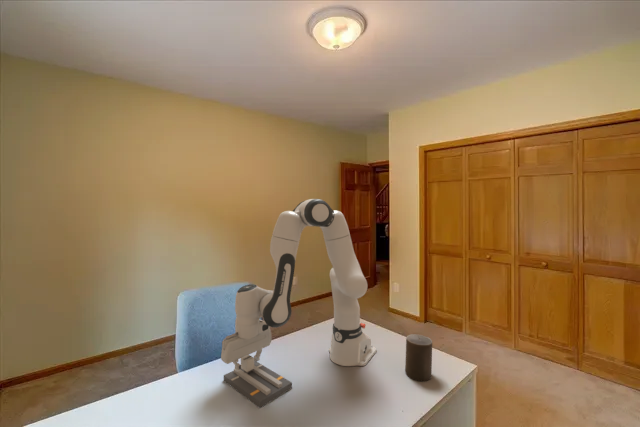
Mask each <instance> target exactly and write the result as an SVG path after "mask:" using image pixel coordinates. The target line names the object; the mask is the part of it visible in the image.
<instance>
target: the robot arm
mask: <svg viewBox="0 0 640 427" xmlns="http://www.w3.org/2000/svg"><path fill="white" fill-rule="evenodd" d="M306 227H319V229H321V231H322V235H323V240H324V243H325V248H326V252H327V257H328V260H329V261H330V263H331V266H332V267H331V269H330V270H329V279H330V284H331V285H330V286H331V295H332V301H333V324H332V334H331V338H330V339H331V340H330V347H328V352H329V359H330V360H331V362H333V363H334V364H337V365H338V366H342V367H354V366H361V367H364V366H367V364H368V363H369V361H370V360H372V357H373V356H374V355H375V354H376V352H377V348H376V347H375V346H374V345H372V341H371V338H370V336H369V335H368V334H366V333H365V332H363V329H365V328H366V324H365V323H362V322H361V321H360V320H361V308H360V304H359V300H358V299H360V298H362V297H363V296H365V294H366V293H367V290H368V281H367V279H366V277H365V275H364V273H363V271H362V268H361V265H360V262H359V260H358V259H357V256H356V253H355V250H354V245H353V241H352V237H351V234H350V230H349V225H348V222H347V220H346V218H345V215H344V213H342V211H340V210H336V209H335V210H333V209H332V207H331V206H330V204H328V202H326V200H324V199H321V198H320V199H319V198H309V199H306V200H303V201H301V202H299V203H298V204H297V205H296V206H295V207H294V209H293V210H285V211H282V212H281V213H280V214H279V215H278V217H277V220H276V222H275V225H274V227H273V231H272V236H271V238H270V244H269V253H270V254H269V255H271V258H272V260H273V263H274V266H275V271H276V272H275V279H274V285H273V290H271V289H270V290H269V289H265V288H262V287H260V286H258V285H257V284H253V283H252V284H251V283H250V284H247V285H243V286H241V287H239V288H238V290H237V292H236V294H235V302H234V306H235V307H234V308H235V309H234V311H235V315H236V317H235V321H234V322H235V323H234V325H235V326H234V328H235V332H234V333H232V334H229V335H227V336H225V338H223V340H222V342H221V353H220V354H221V355H220V358H221V361H222V362H223V363H225V364H226V365H228V364H230V363H232V364H234V369H235V370H237V371H238V370H240V369H241V363H238V362H239V360H241V358H242V357H244V356H247V355H251V354H253V353H255V355H253V358H254V361H255V362H258V361H260V356H261V354H262V352H263V349H264V348H267V347H269V346H270V345H271V344H272V330H271V328H274V329H275V328H280V327H283V326H284V325H286V324H287V323H288V322H289V320H290V319H291V317H292V304H291V293H292V289H293V280H294V275H295V267H296V259H297V254H298V249H299V245H300V242H301V236H302V233H303V231H304V229H305V228H306ZM261 318H263V319H261Z"/></svg>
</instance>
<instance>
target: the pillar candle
mask: <svg viewBox="0 0 640 427" xmlns="http://www.w3.org/2000/svg"><path fill="white" fill-rule="evenodd" d="M405 340H406V341H405V369H404V372H405V374H406V376H407V377H408V378H410V379H412V380H414V381H417V382H427V381H430V380H431V379H432V372H433V371H432V365H433V340H432V339H431V337H428V336H425V335H423V334H418V333H417V334H414V333H413V334H408V335H406V338H405Z"/></svg>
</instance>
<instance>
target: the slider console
mask: <svg viewBox="0 0 640 427" xmlns="http://www.w3.org/2000/svg"><path fill="white" fill-rule="evenodd" d="M223 382H225V383H226V384H227V385H229V386H230V387H231V388H233V389H234V390H235V391H236V392H238V393H239V394H240V395H242V396H243V397H245V398H246V399H247V400H249V402H251V403H252V404H253V405H255V406H256V407H258V408H259V409H261V408H262V407H264V406H266V405H267V404H269V403H270V402H272V401H273V400H275V399H277V398H278V397H281V395H283V394H285V393H286V392H288V391H289V390H291V389H292V388H293V382H292V381H291V380H288V379H287V378H285V377H284V376H282V375H280V374H278V373H276V372H275V371H273V370H272V369H270V368H268V367H266V366H265V365H263V364H262V363H260V362H258V361H257V362H255V361H254V369H252V370H251V372H250V373H248V374H247V373H245V372H244V370H243V369H240V370H238V371H237V370H235V368H233V370H232V371H230V372H227V373H225V374H224V375H223Z"/></svg>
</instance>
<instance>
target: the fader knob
mask: <svg viewBox="0 0 640 427" xmlns="http://www.w3.org/2000/svg"><path fill="white" fill-rule="evenodd" d="M240 365H241V369H243V370H244V372H245V373H247V374H248V373H250V372H251V370H252V369H254V356H252V355H251V354H249V355H247V356H244V357H242V358H240Z"/></svg>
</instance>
